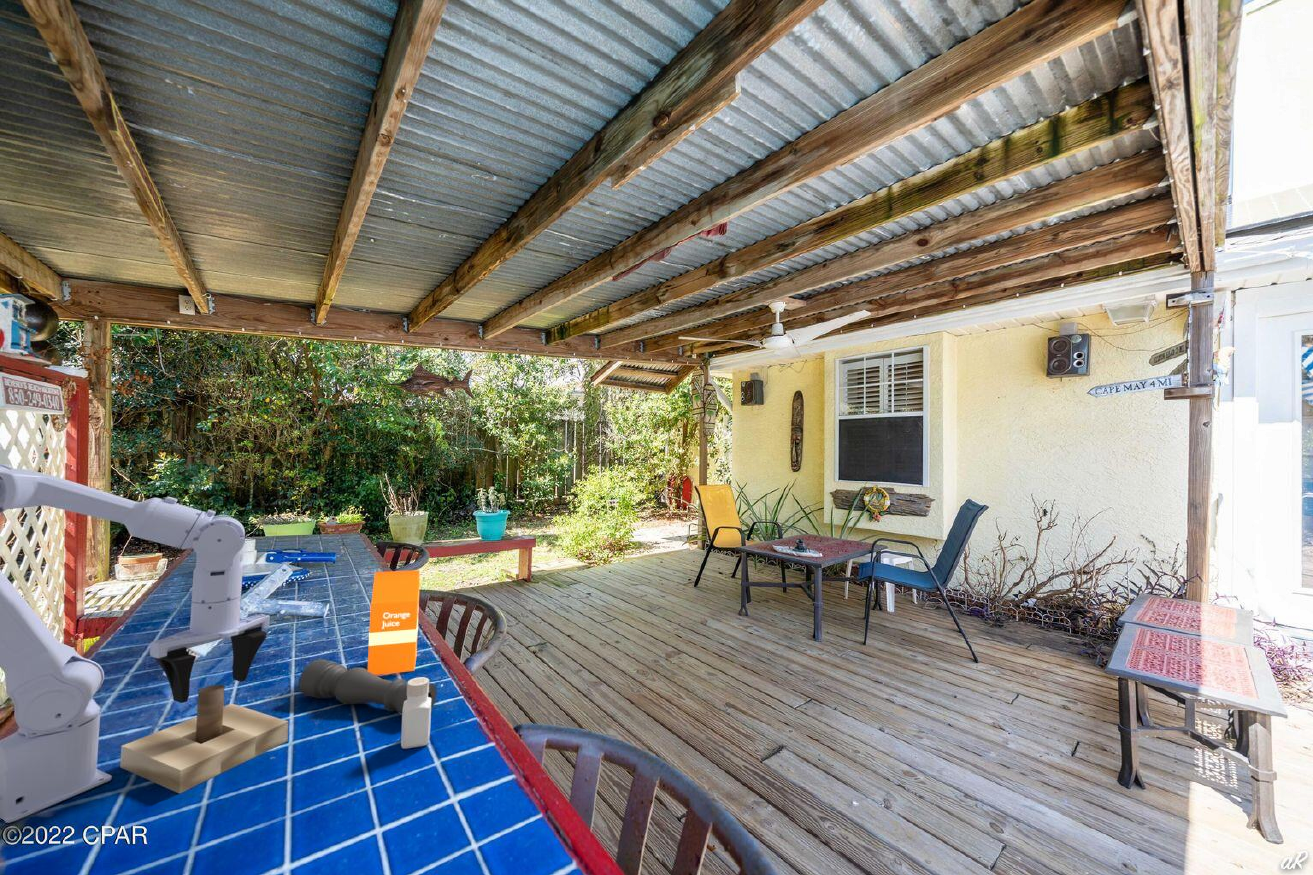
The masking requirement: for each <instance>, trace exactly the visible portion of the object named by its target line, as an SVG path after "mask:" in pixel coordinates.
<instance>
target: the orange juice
mask: <svg viewBox="0 0 1313 875" xmlns="http://www.w3.org/2000/svg"><path fill="white" fill-rule="evenodd" d="M419 602H420V570H417V569H416V570H414V569H413V570H398V571H397V570H395V571H394V570H393V571H374V578H373V586H372V595H371V602H370V613H369V614H370V615H369V617H370V618H369V631H368V632H369V633H368V656H367V657H368V658H367V670H368V671H369V672H371V673H373V674H374V675H376V676H377V675H378V676H379V675H389V674H396V673H405V672H412V671H413V672H414V671H415V670H416V663H417V662H416V661H417V655H418V654H417V652H418V648H417V647H418V630H419V611H420V610H419V608H420V606H419V605H420V603H419Z"/></svg>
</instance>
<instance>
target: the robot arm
mask: <svg viewBox="0 0 1313 875" xmlns="http://www.w3.org/2000/svg"><path fill="white" fill-rule="evenodd" d="M177 502H178V498H175V497H171V496H167V497H165V498H164V499H162V498H158V497H152V498H149V499H146V500H143V501H135V500H131V499H128V498H125V497H123V496H119V495H115V494H113V493H110V492H106V491H102V490H100V489H97V488H94V487H90V486H87V485H84V484H81V483H78V482H74V481H72V480H67V479H65V478H61V477H59V476H55V475H52V474H48V473H43V472H39V471H35V470H31V469H25V468H13V467H11V466H9V465H5V464H3V463H0V515H1V514H2V513H3V512H5V511H6V510H13V509H22V508H24V509H25V508H33V507H34V508H35V507H41V506H42V507H51V508H54V509H59V510H64V511H68V512H72V513H76V514H80V515H85V516H89V517H93V518H96V519H97V518H99V519H102V520H107V521H110V522H116V523H119V524H123V525H124V526H125V528H126V529H127V531H128V534H129V535H130V536H131V537H135V538H139V539H143V540H145V541H150V542H154V543H157V544H158V543H159V544H162V545H166V546H170V547H174V548H177V549H181V550H187V549H193V551H194V552H195V553H196V562H195V568H194V569H193V571H192V572H193V576H192V577H193V578H192V589H191V590H192V591H191V603H190V604H191V608H190V623H189V624H190V625H189V629H186V630H184V631H180V632H178V633H176V634H173V635H169V636H167V637H164V638H161V639H158V640H157V639H156V640H154V641H151V642H150V650H149V657H152V658H154V659H155V661H156V662H157V663H158V664H159V666H160V667H161V669H162V670H163V673H164V674H165V676H166V678H167V680H168V684H169V687H170V690H171V694H172V698H173V701H174V702H177V703H180V704H183V703H186V702H188V700H189V697H190V687H191V685H190V682H191V675H192V671H193V666H194V663H195V661H196V658H197V656H196V655H193V654H190V651H188V649H191V648H192V649H193V648H195V647H200V646H202V645H206V644H208V643H209V644H210V643H212V642H217V641H220V640H224V639H227V638H230V641H231V648H232V669H231V670H232V671H231V672H232V680H233V681H237V682H240V683H242V682H245V681H246V680H247V678H248V674H249V670H250V668H251V667H252V663H253V661H254V659H255V656H256V654H257V653H258V651H259V649H260V648H261V646H262V644H263V643H264V642H265V640H266V639H267V631H265V629H269V628H270V617H271V616H270V615H268V614H264V613H261V614H256V615H251V616H246V617H241V616H240V615H241V603H242V602H241V600H242V587H243V586H242V585H243V584H242V583H243V571H244V570H243V569H244V568H243V567H244V566H243V564H242V561H243V556H244V555H243V552H242V549H243V547H244V545H245V543H246V538H245V536H246V530H245V527H244V525H243V524H242V523H241V522H240V521H239V520H238V519H236V518H233V517H232V516H230V515H229V514H220V515H219V514H218V515H216V512H217V511H214V510H212V509H207V511H202V510H200V509H196V508H193V507H191V506H186V505H183V504H179V503H177ZM0 669H1V670H2V671H3V673H4V681H5V693H6V695H7V696H8V697H9V699H10V700H11V701H12V703H13V705H14V713H13V714H14V715H13V716H14V721H15V723H16V724H17V725H18V729H17V731H16V732H14V733H12V734H10V735H8V736H7V737H3V738H2V739H0V818H1V819H3V820H4V821H5V822H4V821H3V822H4V823H6V824H9V823H10V824H11V823H12V822H13V823H14V822H15V821H18V820H20V819H23V818H25V817H28V816H30V815H32V814H35V813H37V812H40V811H41V810H44V809H46V808H49V807H51V806H53V805H56V804H58V803H60V802H62V801H63V802H64V801H65V800H68V799H70V798H72V797H75V796H77V795H79V794H82V793H84V792H86V791H89V790H92V789H93V788H95V787H98V786H100V785H102V784H105V783H107V782H110V781H111V780H112V778H113V776H112V775H111V774H109V773H106V772H104V771H102V770H101V769H98V756H99V755H98V754H99V753H98V752H99V740H100V738H99V737H100V736H99V735H100V723H101V706H100V705H99V704H98V703H97V702H96V701H95V699H94V698H93V697H94V695H95V694H96V693H98V691H99V690H100V689H101V687H102V685H103V682H104V680H105V672H104V670H103V667H102V666H101V664H99V663H97V662H95V661H93V660H91V659H89V658H85V657H83V656H82V655H80V654H79V653H78V652H77V651H76V649H75V648H73V647H72V646H69V645H67V644H64V643H62V642H60V641H59V640H58V639H57V638H56V636H54V634H53V633H52V632H51V630H50V629H49V628H48V627H47V625H46V624H45V623H44V622H43V621H42V619H41V618H40V617H39V616H38V615H37V613H36V612H35V611H34V610H33V608H32V607H31V605H30V604H29V603H28V602H27V601H26V599H25V598H24V597H23V596H22V595H21V593H20V592H19V591H18V590H17V589H16V587H15V586H14V585H13V584H12V582H11V581H10V580H9V579H8V578H7V576H6V574H4V572H3V571H2V570H1V569H0ZM1 819H0V820H1Z"/></svg>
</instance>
